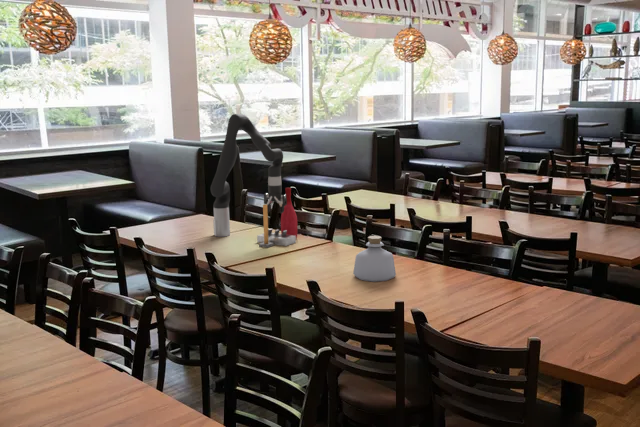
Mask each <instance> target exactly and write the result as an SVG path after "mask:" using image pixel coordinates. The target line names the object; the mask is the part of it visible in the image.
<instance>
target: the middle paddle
mask: <svg viewBox="0 0 640 427" xmlns="http://www.w3.org/2000/svg"><path fill="white" fill-rule="evenodd" d="M280 232H281V229H278V228H277V229H276V230H275V231H274V233H275V234H274V235H278V234H280Z"/></svg>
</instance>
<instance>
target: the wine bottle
mask: <svg viewBox="0 0 640 427" xmlns="http://www.w3.org/2000/svg"><path fill="white" fill-rule="evenodd" d="M284 189H285V190H284V191H285V194H284V195H286V198H287V205H285V206H284V212H283V213H281V216H280V234H282V232H283V231H284V230H287V233H286V234H288V235H296V238H297V237H298V216H297V213H296V211H295V208H294V206H293V203H292V198H291V196H292V193H291V192H292V188H291V187H285V188H284Z"/></svg>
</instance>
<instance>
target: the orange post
mask: <svg viewBox="0 0 640 427" xmlns="http://www.w3.org/2000/svg"><path fill="white" fill-rule="evenodd" d="M262 212H263V213H262V214H263V215H262V217H263V233H264V242H263V243H260V242H259V244H258V247H259V248H267V249H269V248H271V247H274V246H275V244H274V243H271V242H268V229H269V215H268V213H269V212H268V210H267V204H263V205H262Z"/></svg>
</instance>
